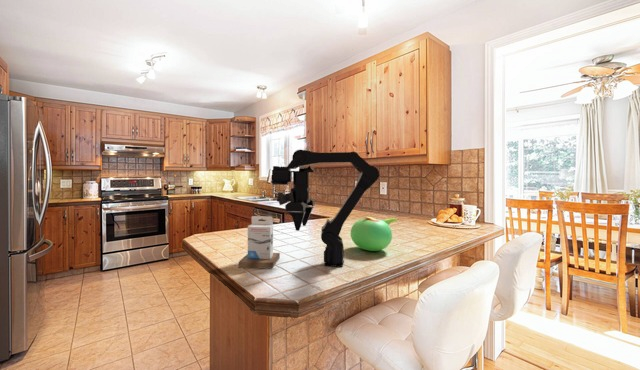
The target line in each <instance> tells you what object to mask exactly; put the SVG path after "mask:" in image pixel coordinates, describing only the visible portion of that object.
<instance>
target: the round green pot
mask: <svg viewBox="0 0 640 370" xmlns="http://www.w3.org/2000/svg"><path fill="white" fill-rule="evenodd" d="M397 220H398V218H396V217H393V218H387V219H379V218H378V217H377V218H375V217H370V216H364V218H360V219H358V220H357V221H355V222H354V223H353V224H352V226H351V229H350V237H351V238H350V239H351V240H352V242H353V243H354V245H356V246H357V247H358V248H360V249H361V250H365V251H369V252H377V251H378V252H379V251H382V250H385V249H386V248H387V247H388V246H389V245H390V244H391V242H392V239H393V232H392V229H391V227H390V224H393V223H394V222H396V221H397Z"/></svg>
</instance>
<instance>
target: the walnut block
mask: <svg viewBox="0 0 640 370" xmlns="http://www.w3.org/2000/svg"><path fill="white" fill-rule="evenodd" d="M280 255H281V254H280V252H273V256H272V257H271V259H250V258H248V253H247V254H246V255H244V256H243V257H242V258H241V259H240V260H239V261H238V268H240V269H241V268H242V269H274V267H275V265H276V264H277V263H278V262H279V259H280V258H281V257H280Z"/></svg>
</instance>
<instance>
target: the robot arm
mask: <svg viewBox="0 0 640 370" xmlns="http://www.w3.org/2000/svg"><path fill="white" fill-rule="evenodd" d="M342 163H343V164H346V163H347V164H348V163H350V164H351V165H352V166H353V167H354V168H355V170H356V171H358V172H359V175H358V178H357V181H356V183H355V185H354V187H353V189H352V190H351V192H350V193H349V195H348V196H347V198H346V200H345V201H344V202H343V204H342V205H341V207H340V208H339V210H338V211H337V213H336V214H335V216H334V217H333V218H331V219H329V218H326V221H325V223H324V225H323V226H321V234H320V238H321V241H322V243H324V245H325V248H324V249H325V250H324V251H323V263H324V264H323V265H324V267H325V266H326V267H339V268H340V267H341V268H342V267H344V264H345V259H344V258H345V257H344V243H343V238H342V237H341V236H340V234H341V231H342V229H343V226H344V223H345V222H346V221H347V220H348V217H350V215H351V213H352V212H353V210H354V208H355V207H356V205H357V204H358V203H359V202H360V200H361V199H362V196H363V195H364V194H365V193H366V191H367V190H369V189H370V188H371V187H372V186H373V185H374V184H375V183H376V182H377V180H379V178H380V171H379V169H378V168H377V167H376V166H373V165H371V164H369V162H367V161H366V160H365V159H363V157H361V155H359V153H358V152H356V151H350V152H347V151H345V152H343V151H342V152H341V151H340V152H338V151H337V152H334V151H333V152H316V151H312V150H305V149H296V150H295V151H294V152H293V154H292V158H291V161H289V163H288V164H287V166H277V165H273V166H272V172H271V173H272V174H271V184H272V185H273V186H289V184H290V183H292V185H293V186H292V187H291V189H290V192H288V193H284V192H279V193H277V196H276V202H278V203H279V206H282V205H285V206H284V207H285V209H284V211H285V212H286V213H287V214H289V215H290V216H291V218H292V221H293V224H294V228H295V231H296V232H297V231H298V232H299V231H300V230H301V227H302V226H303V227H306V226H307V224H308V221H309V218H310V217H311V214H312V212H313V210H314V206H315V199H313V198H311V197H310V191H311V187H310V173H314V172H315V170H314V169H313V168H312V167H311V165H312V166H313V165H316V164H342ZM307 166H308V167H307ZM297 168H299V169H298V170H296V169H297Z"/></svg>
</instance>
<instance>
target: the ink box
mask: <svg viewBox="0 0 640 370" xmlns="http://www.w3.org/2000/svg"><path fill="white" fill-rule="evenodd" d="M273 222H274V219H273V216H267V215H266V216H264V215H262V216H261V215H258V216H257V215H256V216H255V215H252V216H251V224H249V225H247V254H248V258H250V259H271V257H272V256H273V253H274V223H273Z"/></svg>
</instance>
